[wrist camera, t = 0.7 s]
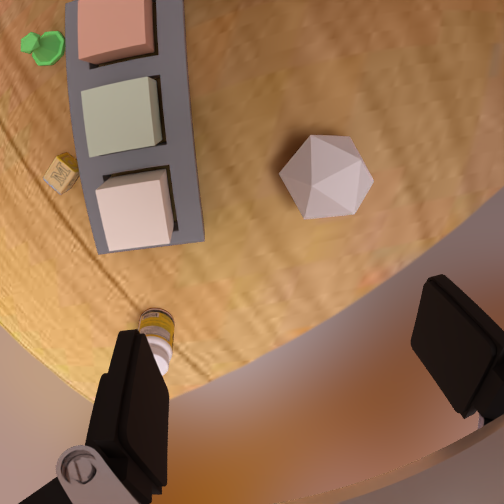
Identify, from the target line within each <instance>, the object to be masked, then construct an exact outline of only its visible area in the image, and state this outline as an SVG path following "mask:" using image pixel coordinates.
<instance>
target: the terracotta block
mask: <svg viewBox="0 0 504 504" xmlns="http://www.w3.org/2000/svg"><path fill="white" fill-rule="evenodd" d="M149 53H155V51H154V33H153V9H152V0H78V55H79V60H82V61H86V62H89V63H92V64H95V65H98V64H102V63H106V62H110V61H115V60H119V59H124V58H128V57H133V56H138V55H144V54H149Z"/></svg>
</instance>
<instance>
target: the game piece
mask: <svg viewBox="0 0 504 504" xmlns="http://www.w3.org/2000/svg"><path fill="white" fill-rule="evenodd" d="M65 47H66V44H65V38H64V37H63V35H62V34H61V32H59V31H52V32H45V33H44V34H43V35H42V36H41V37H40V35H39V34H36V33H33V32H30V33H29V34H28V35H26V36H25V37H24V38H22V39H21V51H22V52H25V53H28V54H31V53H32V52H33V53H32V57H33V58H34V60H35V61H36V63H37V64H38V65H40V66H45V65H54V64H55V63H56V62H57V61H58V60H59V59H60V58H61V57H62V56H63V55H64V51H65Z"/></svg>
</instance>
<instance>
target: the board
mask: <svg viewBox="0 0 504 504" xmlns="http://www.w3.org/2000/svg"><path fill="white" fill-rule="evenodd" d="M152 2H156V12H157V34H158V51H159V55H156V56H150V57H144V58H139V59H134V60H129V61H124V62H119V63H115V64H111V65H106V66H102V67H98V65H95V64H92V63H89V62H86V61H82V60H79V55H78V0H75V1H72V2H69V3H66V7H65V44H66V68H67V82H68V94H69V104H70V113H71V122H72V129H73V137H74V143H75V150H76V156H77V162H78V168H79V173H80V178H81V184H82V189H83V193H84V198H85V203H86V207H87V212H88V216H89V220H90V224H91V228H92V232H93V236H94V240H95V244H96V248H97V251H98V255H99V254H107V253H114V252H122V251H130V250H138V249H146V248H154V247H162V246H170V245H178V244H186V243H195V242H203V241H205V232H204V223H203V215H202V207H201V199H200V190H199V181H198V172H197V163H196V154H195V144H194V134H193V124H192V113H191V102H190V90H189V77H188V64H187V49H186V33H185V15H184V0H152ZM143 77H150V78H152V79H155V78H160V79H161V91H162V102H163V112H164V122H165V132H166V140H167V142H161V143H157V144H156V145H155V146H149V147H143V148H137V149H131V150H125V151H120V152H115V153H109V154H104V155H99V156H95V157H90V158H89V152H88V145H87V139H86V132H85V124H84V116H83V107H82V97H81V91H84V90H88V89H92V88H96V87H100V86H104V85H109V84H113V83H117V82H122V81H127V80H132V79H137V78H143ZM163 165H170V173H171V180H172V188H173V195H174V202H175V208H176V215H177V221H176V222H174V227H173V232H172V236H171V241H170V244H162V245H154V246H146V247H138V248H130V249H123V250H115V251H109V248H108V244H107V240H106V236H105V232H104V228H103V224H102V219H101V215H100V210H99V206H98V201H97V196H96V191H95V190H96V189H97V188H98V187H100V186H101V185H102V184H103V183H104V182H105V181H107V180H108V179H109V178H110V177H112V176H111V174H114V173H119V172H125V171H131V170H137V169H143V168H150V167H156V166H163Z"/></svg>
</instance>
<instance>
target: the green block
mask: <svg viewBox="0 0 504 504" xmlns="http://www.w3.org/2000/svg"><path fill="white" fill-rule="evenodd" d="M81 97H82V107H83V116H84V124H85V132H86V139H87V145H88V152H89V158H90V157H95V156H99V155H104V154H109V153H115V152H120V151H125V150H131V149H137V148H143V147H149V146H155V145H156V144H157V143H159V142H160V141H161V140H162V131H161V121H160V112H159V101H158V90H157V81H156V80H154V79H152V78H150V77H143V78H137V79H132V80H127V81H122V82H117V83H113V84H109V85H104V86H100V87H96V88H92V89H88V90H84V91H81Z"/></svg>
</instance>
